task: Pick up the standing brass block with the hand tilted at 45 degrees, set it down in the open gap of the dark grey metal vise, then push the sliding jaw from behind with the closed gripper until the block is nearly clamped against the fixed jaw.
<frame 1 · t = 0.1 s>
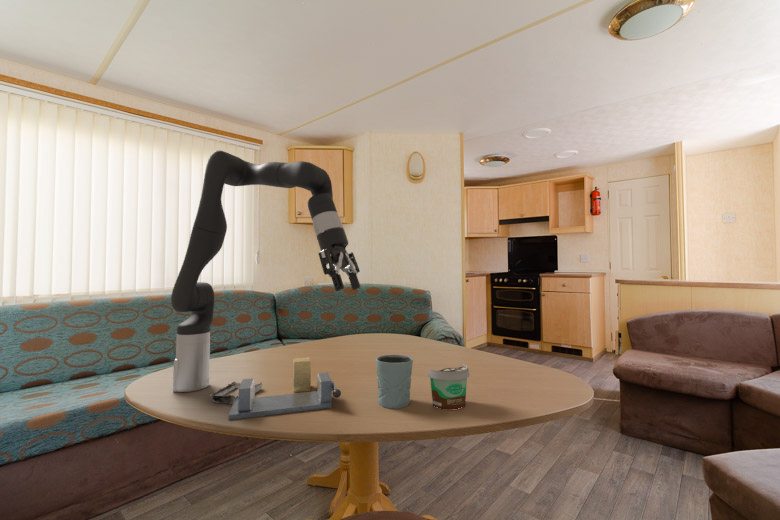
hand: (348, 289, 86), 31 cm above the table, tool tilted 20°, fingers open, 8 cm apart
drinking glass: (394, 403, 92), on the table
sliding jaw: (246, 394, 88), point 4 cm above the table, slide at 0.0 cm
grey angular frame: (235, 397, 99), on the table
vise base: (282, 405, 90), on the table
food container: (454, 407, 89), on the table
brass block: (301, 388, 104), on the table
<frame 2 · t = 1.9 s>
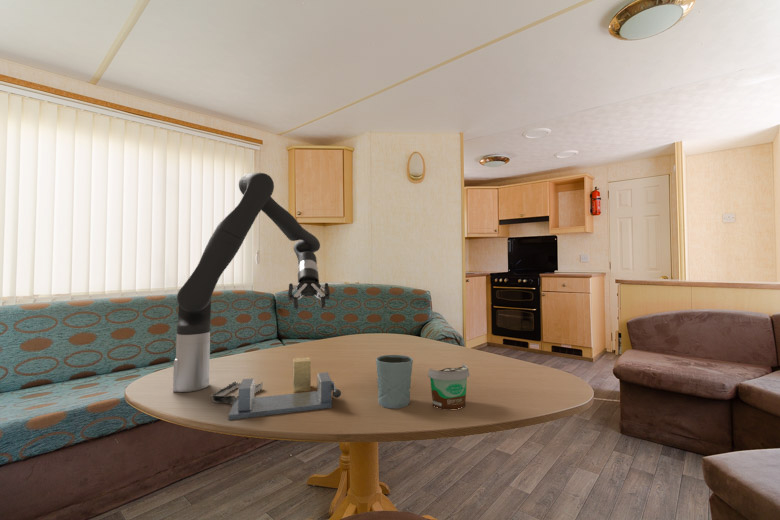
hand: (309, 307, 115), 24 cm above the table, tool tilted 45°, fingers open, 8 cm apart
nothing on the table moved.
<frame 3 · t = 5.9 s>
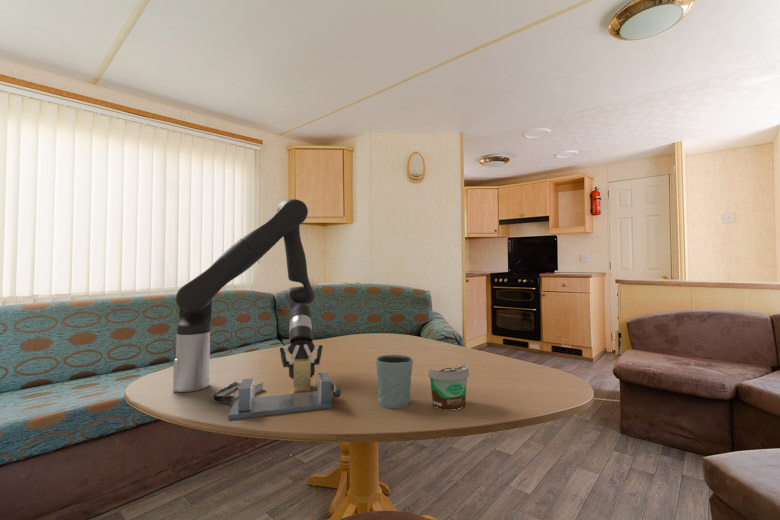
hand: (302, 376, 103), 4 cm above the table, tool tilted 45°, fingers closed on brass block, 5 cm apart
brass block: (301, 388, 104), on the table, touching gripper
everything else where it was.
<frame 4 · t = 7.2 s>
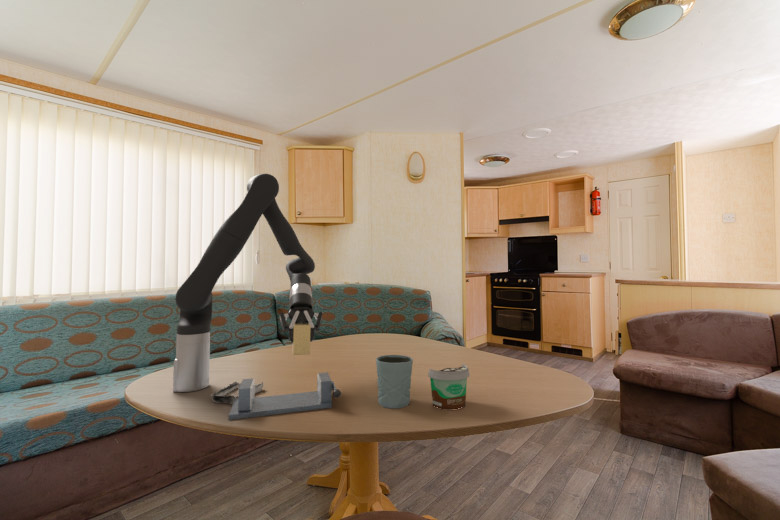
hand: (301, 340, 104), 15 cm above the table, tool tilted 45°, fingers closed on brass block, 5 cm apart
brass block: (301, 353, 105), point 11 cm above the table, touching gripper
everything else where it was.
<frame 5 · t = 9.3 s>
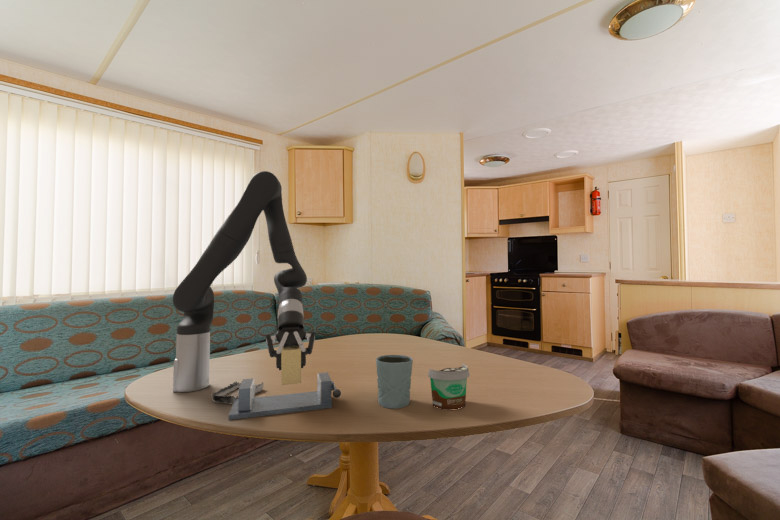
hand: (291, 367, 90), 10 cm above the table, tool tilted 45°, fingers closed on brass block, 5 cm apart
brass block: (291, 381, 91), point 6 cm above the table, touching gripper
everything else where it was.
when the fingers open (7 cm above the table, at t = 10.4 s): brass block drops 1 cm, resting on vise base.
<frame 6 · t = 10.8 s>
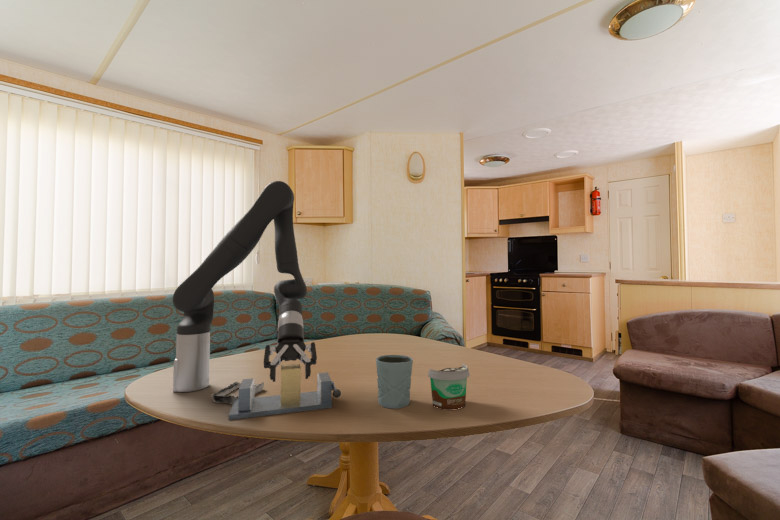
hand: (290, 378, 90), 7 cm above the table, tool tilted 45°, fingers open, 8 cm apart
brass block: (290, 400, 91), point 1 cm above the table, touching vise base
everything else where it was.
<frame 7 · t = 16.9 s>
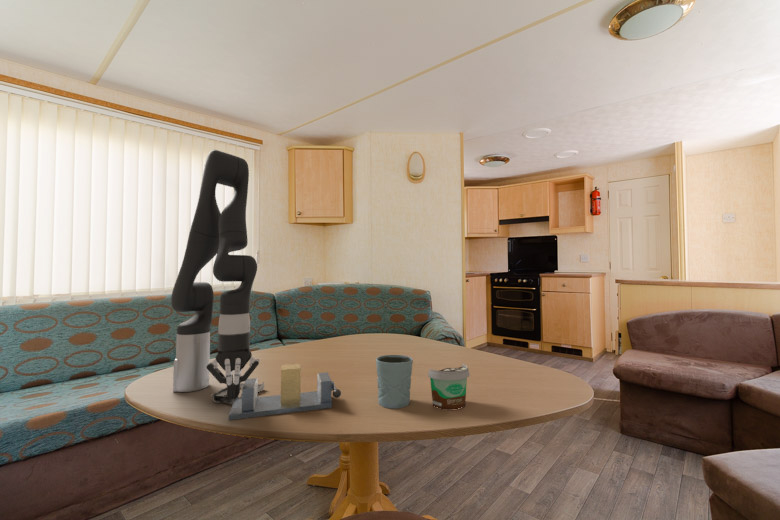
hand: (233, 398, 87), 3 cm above the table, tool pointing down, fingers closed
sliding jaw: (250, 393, 88), point 4 cm above the table, slide at 0.8 cm, touching gripper
everything else where it was.
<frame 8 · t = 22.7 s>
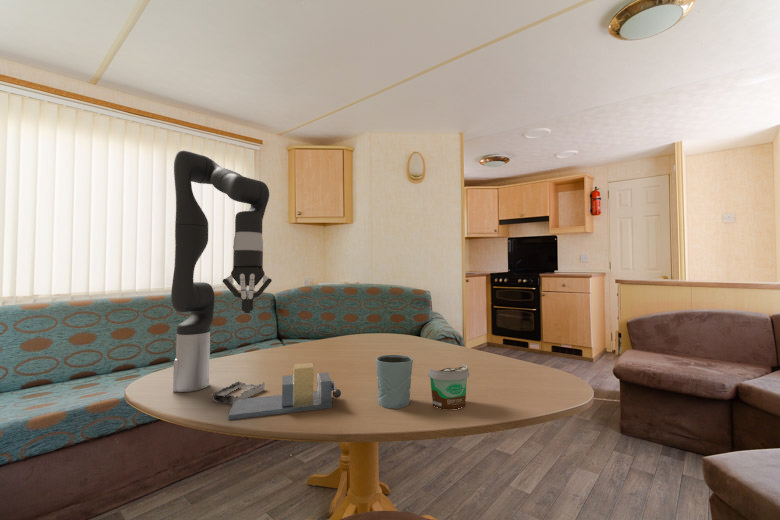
hand: (247, 312, 92), 25 cm above the table, tool pointing down, fingers closed
sliding jaw: (288, 390, 91), point 4 cm above the table, slide at 10.4 cm, touching brass block
brass block: (303, 398, 92), point 1 cm above the table, touching sliding jaw, vise base
everything else where it was.
at the end: brass block inside the target area (0.4 cm from its centre), point 1.2 cm above the table; sliding jaw slide at 10.4 cm; brass block tilted 0° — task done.
